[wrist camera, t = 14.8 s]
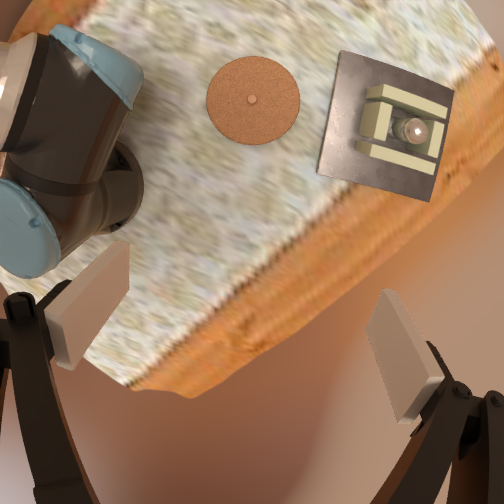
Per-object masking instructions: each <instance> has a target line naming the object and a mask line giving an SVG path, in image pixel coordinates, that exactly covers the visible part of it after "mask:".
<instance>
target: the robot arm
mask: <svg viewBox="0 0 504 504" xmlns="http://www.w3.org/2000/svg"><path fill="white" fill-rule="evenodd" d="M143 78H144V75H143V71H142V68H141V67H140V66H139V64H137V63H136V62H135V61H133V60H132V59H130V58H129V57H127V56H125V55H124V54H122V53H120V52H119V51H117V50H115V49H113V48H111V47H110V46H108V45H106V44H104V43H102V42H100V41H98V40H96V39H94V38H92V37H90V36H86V35H85V34H83V33H81V32H79V31H77V30H75V29H73V28H71V27H68V26H66V25H63V24H56V25H55V26H54V27H53V28H52V29H51V30H50V31H49V36H47V35H43V34H39V33H36V32H31V33H29V34H28V35H26V36H24V37H22V38H21V39H19V40H17V41H16V42H13V43H6V42H0V152H7V155H6V159H5V163H4V167H3V172H2V175H1V177H0V265H1V266H2V267H3V268H4V269H5V270H7V271H8V272H9V273H11V274H13V275H15V276H17V277H20V278H23V279H32V278H38V277H40V276H42V275H43V274H45V273H46V272H48V271H50V270H52V269H54V268H55V267H56V266H58V264H59V262H60V261H62V260H63V259H64V258H65V257H66V256H68V255H69V254H70V253H71V252H72V251H74V250H75V249H76V248H77V247H79V246H80V245H81V244H82V243H84V242H85V241H86V240H87V239H89V238H90V237H91V236H93V235H102V234H108V233H112V232H114V231H116V230H118V229H120V228H121V227H123V226H124V225H125V224H127V223H128V222H129V221H130V220H131V219H132V218H133V217H134V215H135V214H136V212H137V211H138V209H139V207H140V204H141V201H142V197H143V177H142V172H141V169H140V166H139V164H138V162H137V160H136V158H135V157H134V155H133V154H132V153H131V152H130V151H129V150H128V149H127V148H126V147H125V146H124V145H123V144H121V143H119V142H118V141H116V140H117V138H118V135H119V133H120V131H121V129H122V127H123V124H124V122H125V120H126V118H127V116H128V114H129V111H132V109H133V103H134V100H135V98H136V96H137V94H138V91H139V89H140V87H141V85H142V82H143ZM128 290H129V243H128V242H123V241H117V240H116V241H115V242H113V243H112V244H111V245H110V246H109V247H108V248H107V249H106V250H105V251H104V252H103V253H101V254H100V255H99V256H98V257H97V258H96V259H95V260H94V261H93V262H92V263H91V264H90V265H89V266H88V267H87V268H85V269H84V270H83V271H82V272H81V273H80V274H79V275H78V276H77V277H76V278H75V279H74V280H73V281H72V280H68V279H67V280H64V281H62V282H60V283H58V284H57V285H56V286H55V287H54V288H53V289H52V290H51V291H50V292H49V293H48V294H47V295H46V296H44V297H43V298H42V299H41V300H40V301H39V302H38V303H37V304H36V303H35V299H34V297H33V295H32V294H30V293H27V292H17V293H13V294H11V295H9V296H8V297H7V298H6V299H5V300H4V303H3V305H4V309H5V313H6V316H7V319H0V432H1V422H2V413H3V405H4V397H5V390H6V385H7V379H8V373H9V369H11V371H12V380H13V387H14V394H15V401H16V406H17V412H18V418H19V423H20V428H21V433H22V437H23V442H24V446H25V450H26V454H27V458H28V462H29V465H30V469H31V472H32V476H33V479H34V483H35V487H34V488H33V494H34V497H35V501H36V504H100V502H99V500H98V498H97V496H96V494H95V492H94V490H93V487H92V485H91V483H90V481H89V478H88V476H87V474H86V472H85V469H84V467H83V464H82V462H81V459H80V457H79V454H78V452H77V449H76V446H75V444H74V441H73V438H72V435H71V432H70V430H69V427H68V424H67V421H66V418H65V415H64V411H63V408H62V405H61V401H60V398H59V395H58V391H57V388H56V384H55V380H54V376H53V372H52V368H51V364H50V360H51V359H52V357H53V356H55V359H56V363H57V365H58V366H60V367H63V368H65V369H68V370H71V371H73V370H74V368H75V367H76V365H77V364H78V362H79V361H80V359H81V358H82V356H83V355H84V353H85V352H86V350H87V349H88V347H89V346H90V344H91V343H92V341H93V340H94V338H95V337H96V336H97V334H98V333H99V331H100V330H101V328H102V327H103V325H104V324H105V323H106V321H107V320H108V318H109V317H110V315H111V314H112V313H113V311H114V310H115V308H116V307H117V306H118V304H119V303H120V301H121V300H122V299H123V297H124V296H125V295H126V293H127V292H128ZM365 331H366V333H367V336H368V339H369V342H370V344H371V347H372V350H373V352H374V355H375V358H376V361H377V363H378V366H379V369H380V372H381V375H382V377H383V380H384V383H385V386H386V389H387V392H388V395H389V398H390V401H391V404H392V407H393V410H394V413H395V416H396V419H397V423H413V421H414V420H415V419H416V418H417V416H418V415H419V414H420V416H421V418H422V421H421V422H420V424H419V425H418V426H417V427H416V429H415V430H414V431H413V432H412V434H411V435H410V437H412V438H411V440H410V441H409V443H408V445H407V447H406V448H405V450H404V452H403V454H402V455H401V457H400V459H399V460H398V462H397V464H396V465H395V467H394V469H393V470H392V472H391V473H390V475H389V476H388V478H387V480H386V481H385V482H384V484H383V486H382V487H381V488H380V490H379V491H378V493H377V494H376V496H375V497H374V499H373V500H372V501H371V503H370V504H434V502H435V499H436V497H437V495H438V493H439V491H440V489H441V486H442V484H443V482H444V479H445V477H446V475H447V472H448V470H449V467H450V465H451V462H452V468H451V476H450V484H449V491H448V497H447V503H446V504H504V396H503V395H502V394H501V393H499V392H497V391H493V390H491V391H488V392H487V394H486V395H485V397H484V398H480V397H476V396H472V392H471V390H470V389H469V388H468V387H467V386H466V385H465V384H463V383H461V382H459V381H454V379H453V377H452V375H451V373H450V372H449V370H448V368H447V366H446V365H445V363H444V361H443V359H442V357H440V354H439V352H438V350H437V349H436V347H435V346H433V345H432V344H431V343H430V342H429V341H425V339H424V338H423V336H422V334H421V332H420V331H419V329H418V327H417V326H416V324H415V322H414V321H413V319H412V317H411V316H410V314H409V312H408V310H407V309H406V307H405V305H404V304H403V302H402V301H401V299H400V298H399V296H398V294H397V292H396V291H395V290H391V289H385V288H382V291H381V293H380V296H379V299H378V301H377V304H376V306H375V309H374V311H373V313H372V316H371V318H370V321H369V323H368V326H367V328H366V330H365Z"/></svg>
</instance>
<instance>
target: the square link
mask: <svg viewBox="0 0 504 504" xmlns="http://www.w3.org/2000/svg"><path fill="white" fill-rule="evenodd" d="M366 99H369V100H372V101H376V102H373V103H365V104H364V109H363V114H362V119H361V124H360V129H359V133H358V134H359V135H362V136H366V137H370V138H374V139H378V140H382V141H385V140H386V135H387V131H388V126H389V121H390V116H391V111H392V107H394V108H397V109H400V110H403V111H406V112H409V113H412V114H415V115H417V116H420V117H424V118H439V119H446V115H447V109H448V108H446V107H444V106H442V105H439V104H437V103H434V102H432V101H430V100H427V99H425V98H422V97H419V96H417V95H414V94H411V93H409V92H406V91H403V90H400V89H398V88H395V87H392V86H389V85H386V84H382V85H378V86H375V87H371V88H367V93H366ZM422 121H423V122H424V123H425V124H426V126H427V128H428V136H427V139H426V140H425V141H424V142H423V143H421V144H412V143H409V142H408V143H407V148H406V149H409V150H412V151H415V152H419V153H422V154H425V155H428V156H432V157H435V158H437V157H438V153H439V149H440V144H441V140H442V135H443V130H444V124H442V123H439V122H437V121H432V120H422ZM355 150H356V151H359V152H361V153H363V154H366V155H368V156H371V157H375V158H378V159H382V160H385V161H389V162H392V163H396V164H399V165H402V166H406V167H409V168H412V169H415V170H419V171H422V172H425V173H428V174H431V175H433V174H434V170H435V166H436V164H435V163H432V162H429V161H426V160H423V159H420V158H417V157H414V156H411V155H408V154H405V153H402V152H399V151H395V150H392V149H389V148H385V147H382V146H379V145H375V144H372V143H368V142H364V141H361V140H357V143H356V147H355Z"/></svg>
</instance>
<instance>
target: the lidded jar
mask: <svg viewBox="0 0 504 504" xmlns="http://www.w3.org/2000/svg"><path fill="white" fill-rule="evenodd" d="M206 103H207V110H208V114H209V116H210V119H211V121H212V123H213V124H214V126H215V127H216V128H217V129H218V131H220V132H221V133H222V134H223V135H224V136H226V137H227V138H229V139H231V140H233V141H235V142H238V143H241V144H247V145H260V144H265V143H268V142H271V141H274V140H275V139H277V138H279V137H281V136H282V135H283V134H285V133H286V132H287V131H288V130H289V129H290V127H291V126H292V125H293V123H294V121H295V119H296V117H297V115H298V112H299V107H300V94H299V89H298V87H297V84H296V82H295V80H294V78H293V76H292V75H291V74H290V73H289V72H288V70H286V69H285V68H284V67H283V66H282V65H280V64H279V63H277V62H275V61H273V60H271V59H267V58H264V57H257V56H251V57H243V58H239V59H236V60H233V61H232V62H230V63H228V64H226V65H225V66H224V67H222V68H221V69H220V70H219V71H218V72H217V73H216V75H215V76H214V77H213V79H212V81H211V83H210V85H209V88H208V91H207V98H206Z"/></svg>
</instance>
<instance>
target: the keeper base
mask: <svg viewBox="0 0 504 504" xmlns="http://www.w3.org/2000/svg"><path fill="white" fill-rule="evenodd" d="M382 84H386V85H389V86H392V87H395V88H398V89H400V90H403V91H406V92H409V93H411V94H414V95H417V96H419V97H422V98H425V99H427V100H430V101H432V102H434V103H437V104H439V105H442V106H444V107H446V108H448V109H447V115H446V119H439V118H424V117H420V116H417V115H415V114H412V113H409V112H406V111H403V110H400V109H397V108H394V107H392V111H391V116H390V121H389V126H388V131H387V135H386V140H385V141H382V140H378V139H374V138H370V137H366V136H362V135H359V134H358V133H359V129H360V124H361V119H362V114H363V109H364V104H365V103H373V102H376V101H372V100H369V99H366V93H367V88H371V87H375V86H378V85H382ZM453 95H454V91H453V90H451V89H449V88H447V87H445V86H442V85H440V84H438V83H436V82H433V81H431V80H429V79H426V78H424V77H421V76H419V75H416V74H414V73H411V72H408V71H406V70H403V69H400V68H398V67H395V66H392V65H389V64H386V63H383V62H380V61H377V60H374V59H371V58H368V57H365V56H361V55H358V54H354V53H351V52H347V51H344V50H341V51H340V53H339V59H338V65H337V70H336V76H335V81H334V86H333V92H332V97H331V102H330V107H329V112H328V117H327V122H326V127H325V132H324V137H323V142H322V146H321V151H320V156H319V160H318V165H317V170H316V173H317V174H320V175H325V176H329V177H334V178H338V179H342V180H346V181H351V182H355V183H359V184H363V185H367V186H371V187H375V188H379V189H382V190H386V191H390V192H394V193H397V194H401V195H405V196H408V197H412V198H415V199H419V200H422V201H425V202H429V201H430V198H431V194H432V191H433V187H434V183H435V180H436V176H437V172H438V168H439V164H440V160H441V156H442V151H443V147H444V143H445V138H446V133H447V128H448V123H449V118H450V113H451V107H452V101H453ZM422 120H432V121H437V122H439V123H442V124H444V130H443V135H442V140H441V144H440V149H439V153H438V157H437V158H435V157H432V156H428V155H425V154H422V153H419V152H415V151H412V150H409V149H406V148H407V143H408V142H409V143H412V144H421V143H423V142H424V141H425V140H426V139H427V136H428V128H427V126H426V124H425V123H424V122H423V121H422ZM357 140H361V141H364V142H368V143H372V144H375V145H379V146H382V147H385V148H389V149H392V150H395V151H399V152H402V153H405V154H408V155H411V156H414V157H417V158H420V159H423V160H426V161H429V162H432V163H435V164H436V166H435V170H434V174H433V175H431V174H428V173H425V172H422V171H419V170H415V169H412V168H409V167H406V166H402V165H399V164H396V163H392V162H389V161H385V160H382V159H378V158H375V157H371V156H368V155H366V154H363V153H361V152H359V151H356V150H355V147H356V143H357Z"/></svg>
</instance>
